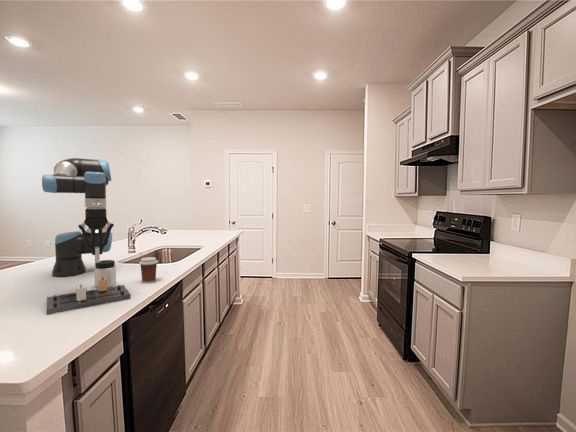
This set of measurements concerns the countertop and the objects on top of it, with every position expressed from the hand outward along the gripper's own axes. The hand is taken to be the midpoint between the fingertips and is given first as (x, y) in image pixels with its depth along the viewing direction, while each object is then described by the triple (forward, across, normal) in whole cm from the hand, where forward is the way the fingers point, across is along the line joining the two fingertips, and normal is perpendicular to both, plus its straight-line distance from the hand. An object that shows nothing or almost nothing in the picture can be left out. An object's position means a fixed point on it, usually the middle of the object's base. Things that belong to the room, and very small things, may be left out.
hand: (97, 261), depth 125 cm
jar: (+17, +5, +16) cm, 24 cm away
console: (+16, -3, -3) cm, 16 cm away
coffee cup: (+17, +24, +12) cm, 31 cm away
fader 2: (+13, +2, +1) cm, 14 cm away
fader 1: (+13, -6, -7) cm, 16 cm away
